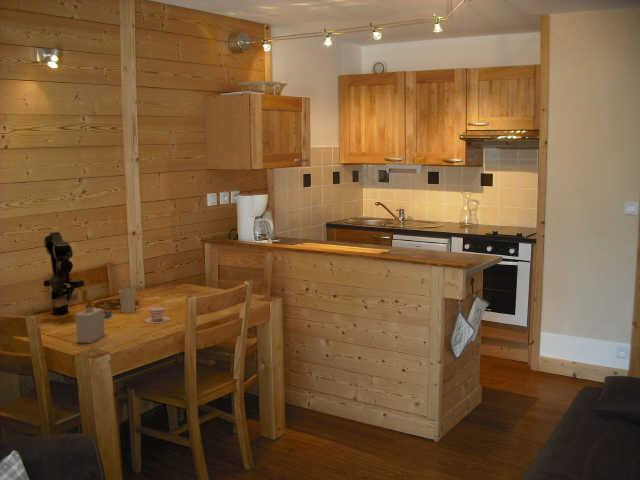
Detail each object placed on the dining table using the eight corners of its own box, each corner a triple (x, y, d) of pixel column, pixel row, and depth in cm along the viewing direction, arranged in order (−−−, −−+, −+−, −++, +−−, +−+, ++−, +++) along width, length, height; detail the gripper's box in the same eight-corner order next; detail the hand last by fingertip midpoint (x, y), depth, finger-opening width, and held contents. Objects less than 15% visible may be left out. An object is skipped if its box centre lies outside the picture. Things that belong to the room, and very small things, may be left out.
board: (75, 325, 331) (75, 323, 331) (95, 315, 349) (95, 313, 349) (98, 326, 329) (97, 324, 328) (117, 316, 346) (117, 314, 346)
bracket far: (91, 317, 341) (90, 311, 341) (95, 315, 345) (95, 309, 345) (107, 318, 339) (106, 312, 339) (111, 316, 343) (111, 310, 343)
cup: (132, 315, 348) (130, 292, 346) (117, 315, 349) (116, 291, 347) (139, 311, 355) (138, 288, 353) (124, 311, 357) (123, 288, 355)
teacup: (139, 322, 336) (139, 310, 335) (154, 316, 347) (153, 304, 346) (160, 324, 332) (160, 312, 331) (174, 318, 343) (174, 306, 342)
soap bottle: (90, 343, 302) (87, 290, 298) (76, 342, 303) (73, 290, 300) (105, 335, 314) (102, 284, 310) (91, 334, 315) (88, 284, 312)
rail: (52, 307, 331) (51, 299, 331) (71, 299, 346) (70, 292, 345) (58, 307, 330) (58, 300, 330) (77, 300, 345) (77, 293, 344)
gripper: (35, 271, 330) (37, 303, 332) (70, 272, 325) (72, 305, 328) (49, 266, 341) (52, 298, 343) (83, 268, 336) (85, 300, 339)
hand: (65, 300), depth 338 cm, fingers closed on rail, 3 cm apart
